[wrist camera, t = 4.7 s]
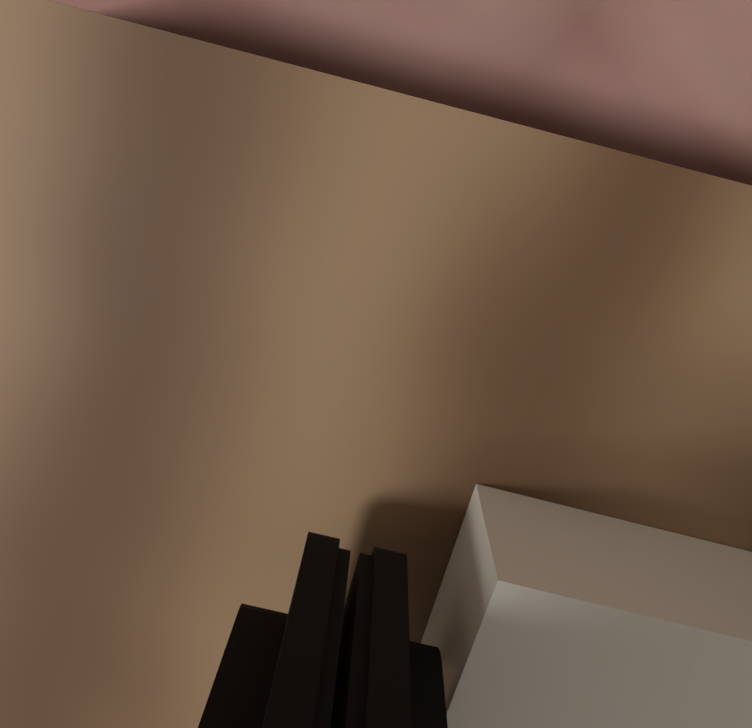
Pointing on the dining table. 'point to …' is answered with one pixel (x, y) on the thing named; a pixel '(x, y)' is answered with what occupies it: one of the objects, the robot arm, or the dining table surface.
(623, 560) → the cream tile
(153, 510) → the tan wooden board
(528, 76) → the dining table surface
